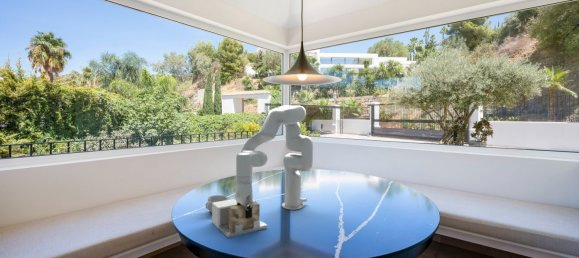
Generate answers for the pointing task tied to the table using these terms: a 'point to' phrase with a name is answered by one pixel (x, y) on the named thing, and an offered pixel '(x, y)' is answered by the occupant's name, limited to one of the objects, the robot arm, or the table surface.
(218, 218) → the cabinet
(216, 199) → the teacup
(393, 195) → the table surface
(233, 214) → the door
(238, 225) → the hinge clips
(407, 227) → the table surface
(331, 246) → the table surface
